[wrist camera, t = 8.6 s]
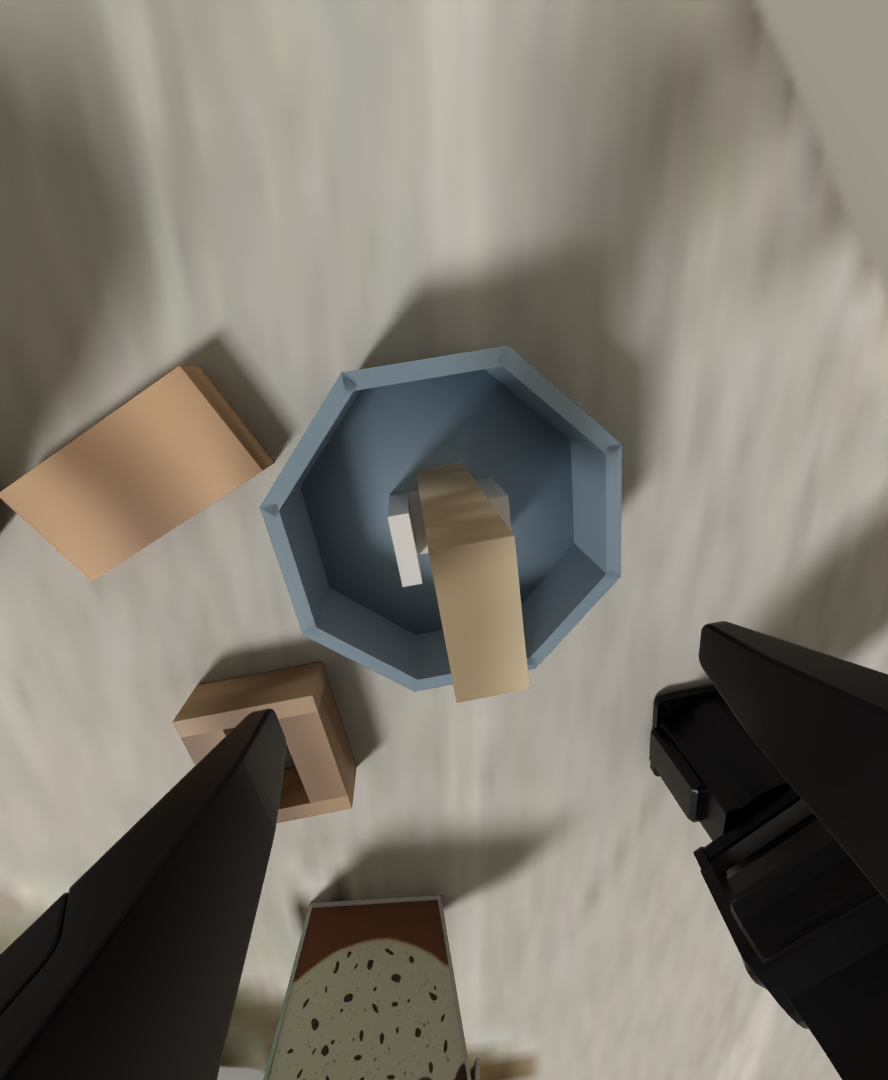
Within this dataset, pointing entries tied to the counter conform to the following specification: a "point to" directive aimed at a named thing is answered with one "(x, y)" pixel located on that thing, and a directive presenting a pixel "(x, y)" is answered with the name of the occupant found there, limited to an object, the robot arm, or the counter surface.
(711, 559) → the counter surface
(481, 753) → the counter surface
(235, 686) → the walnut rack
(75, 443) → the tapered wooden plank
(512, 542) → the bar
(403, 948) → the food container
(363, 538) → the blue octagonal bowl
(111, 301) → the counter surface
